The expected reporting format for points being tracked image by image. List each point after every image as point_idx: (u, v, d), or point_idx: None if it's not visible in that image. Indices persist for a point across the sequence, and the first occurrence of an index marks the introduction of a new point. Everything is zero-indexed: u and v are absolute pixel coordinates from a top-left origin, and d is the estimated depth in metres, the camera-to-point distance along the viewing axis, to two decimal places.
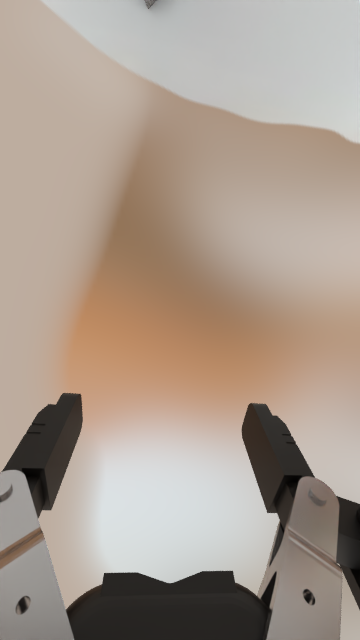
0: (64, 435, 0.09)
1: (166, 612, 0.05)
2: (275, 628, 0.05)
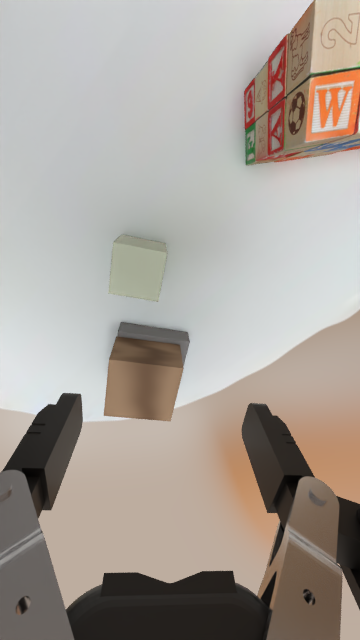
0: (64, 436, 0.09)
1: (166, 612, 0.05)
2: (275, 628, 0.05)
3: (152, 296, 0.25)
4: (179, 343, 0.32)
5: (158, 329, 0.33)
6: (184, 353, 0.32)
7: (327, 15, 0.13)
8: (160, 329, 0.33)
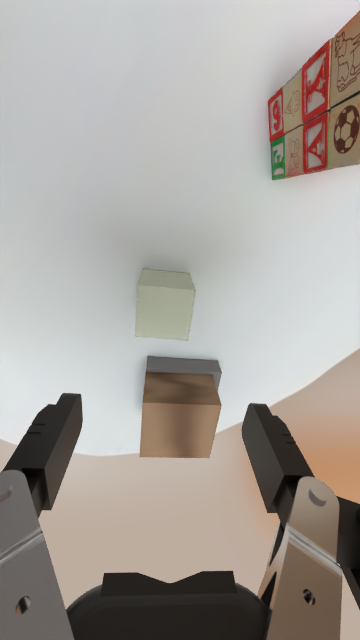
0: (64, 435, 0.09)
1: (166, 612, 0.05)
2: (275, 628, 0.05)
3: (181, 335, 0.23)
4: (211, 374, 0.30)
5: (187, 360, 0.31)
6: (216, 384, 0.31)
7: None
8: (189, 360, 0.31)
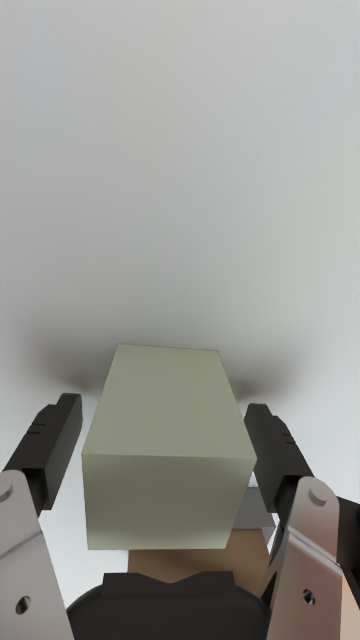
0: (64, 435, 0.09)
1: (166, 612, 0.05)
2: (275, 628, 0.05)
3: (209, 542, 0.09)
4: None
5: None
6: None
7: None
8: None
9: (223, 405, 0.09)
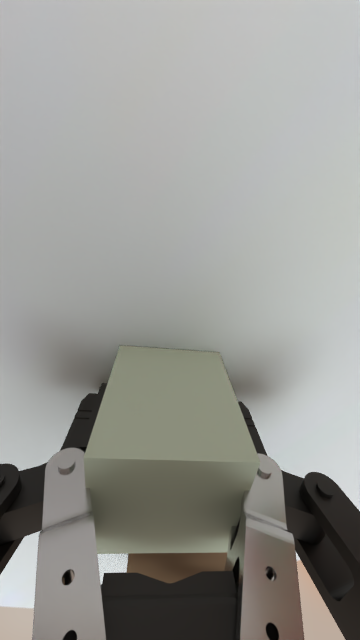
0: None
1: (166, 612, 0.05)
2: (275, 628, 0.05)
3: (211, 546, 0.09)
4: None
5: None
6: None
7: None
8: None
9: (225, 408, 0.09)
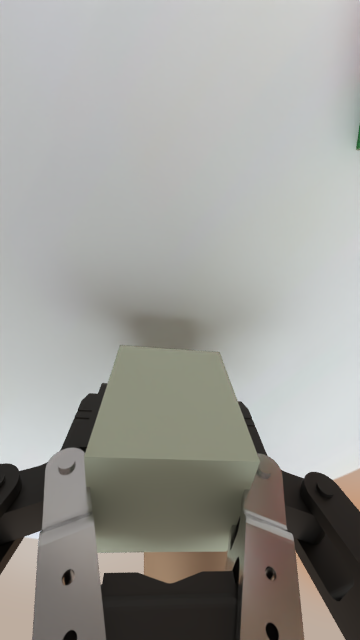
0: None
1: (166, 612, 0.05)
2: (275, 628, 0.05)
3: (211, 545, 0.09)
4: None
5: None
6: None
7: None
8: None
9: (225, 408, 0.09)
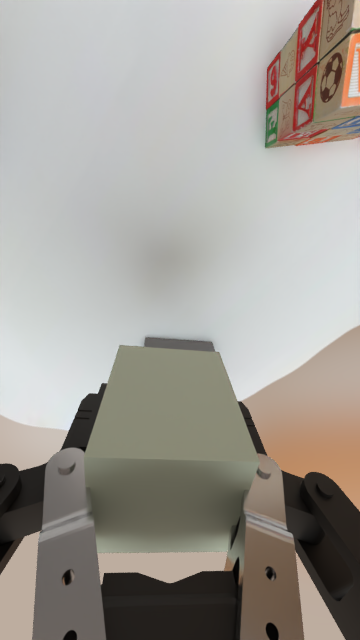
0: None
1: (166, 612, 0.05)
2: (275, 628, 0.05)
3: (211, 545, 0.09)
4: None
5: (183, 341, 0.33)
6: None
7: None
8: (184, 341, 0.33)
9: (225, 408, 0.09)
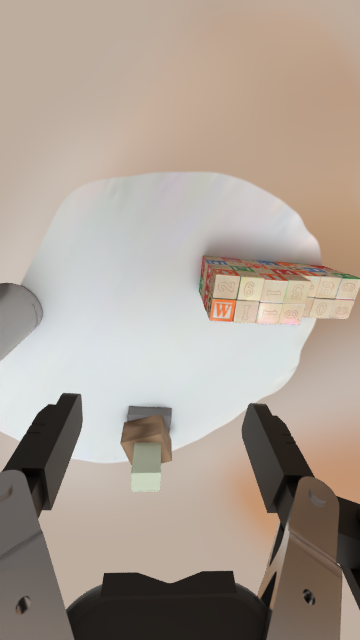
0: (64, 436, 0.09)
1: (166, 612, 0.05)
2: (275, 628, 0.05)
3: (156, 489, 0.44)
4: (165, 418, 0.52)
5: (152, 408, 0.53)
6: (169, 423, 0.53)
7: (221, 280, 0.30)
8: (153, 408, 0.54)
9: (157, 461, 0.44)
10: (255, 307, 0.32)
